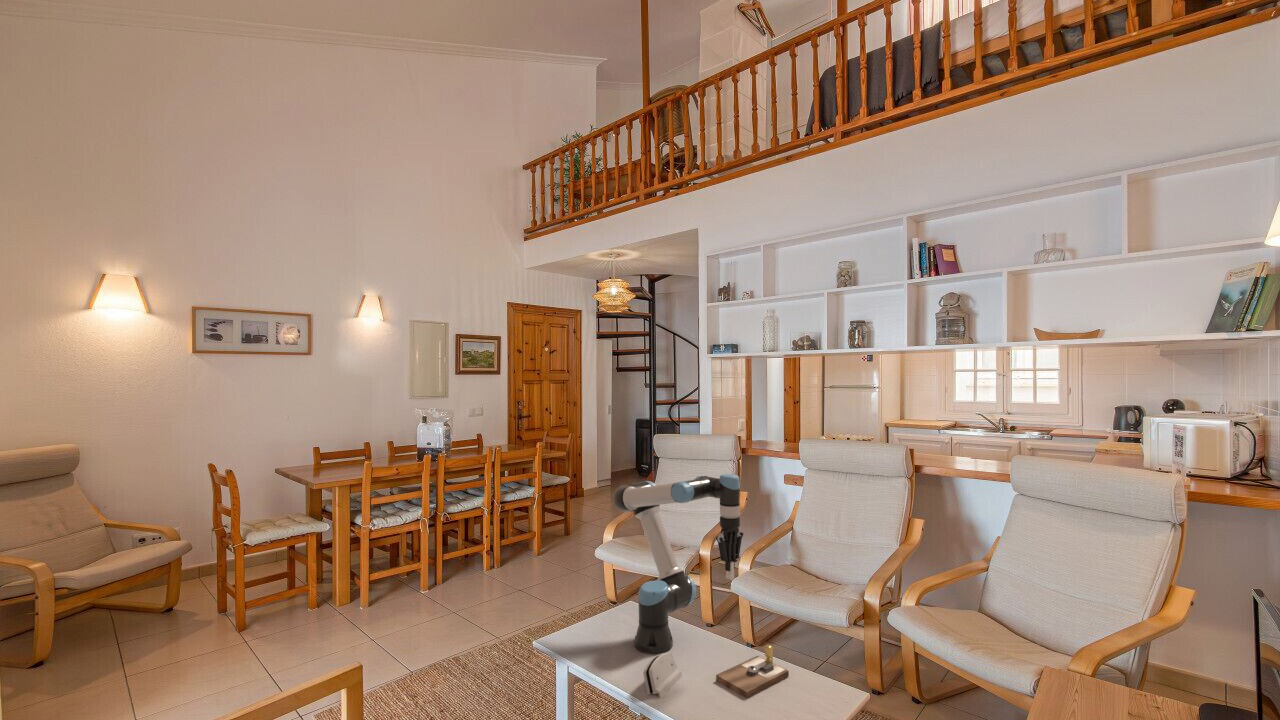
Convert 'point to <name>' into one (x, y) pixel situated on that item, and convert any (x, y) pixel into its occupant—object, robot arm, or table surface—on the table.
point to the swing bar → (767, 661)
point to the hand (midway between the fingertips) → (730, 578)
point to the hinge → (661, 674)
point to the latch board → (751, 677)
